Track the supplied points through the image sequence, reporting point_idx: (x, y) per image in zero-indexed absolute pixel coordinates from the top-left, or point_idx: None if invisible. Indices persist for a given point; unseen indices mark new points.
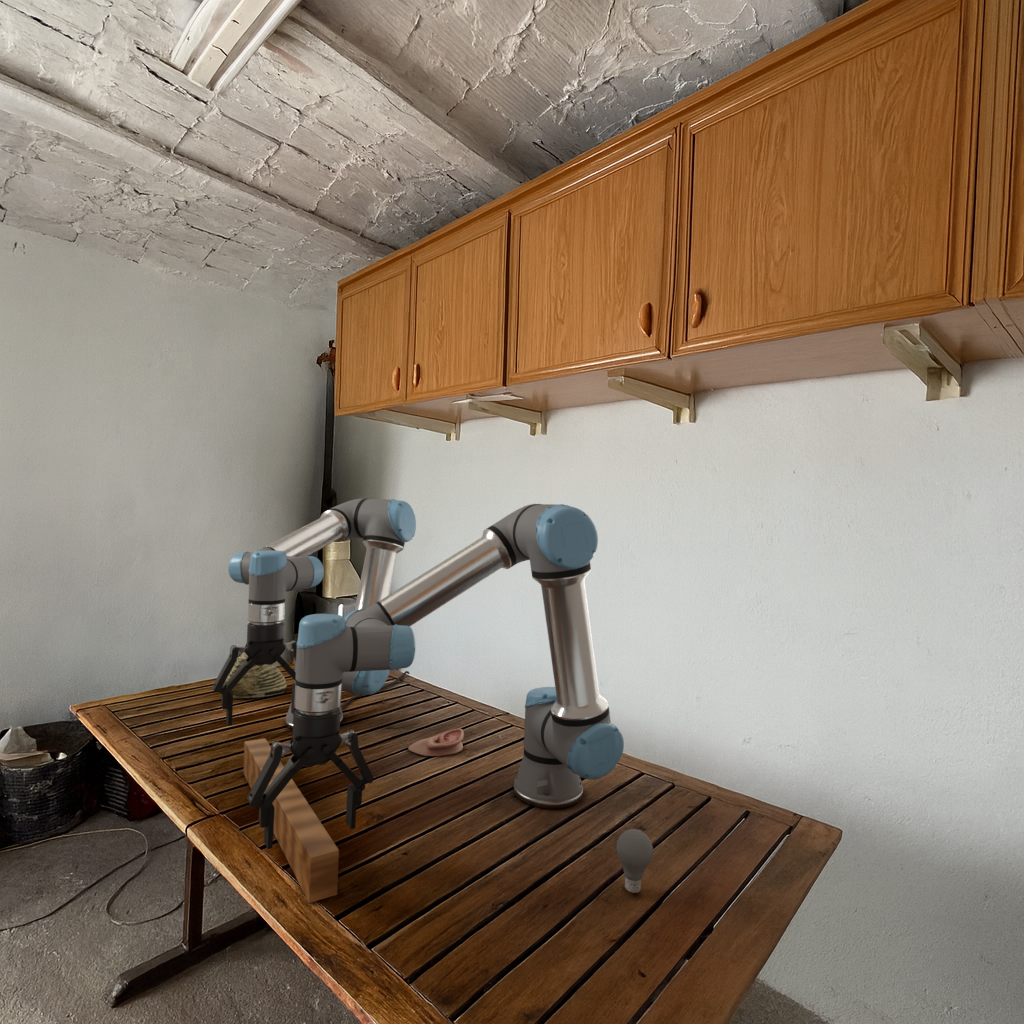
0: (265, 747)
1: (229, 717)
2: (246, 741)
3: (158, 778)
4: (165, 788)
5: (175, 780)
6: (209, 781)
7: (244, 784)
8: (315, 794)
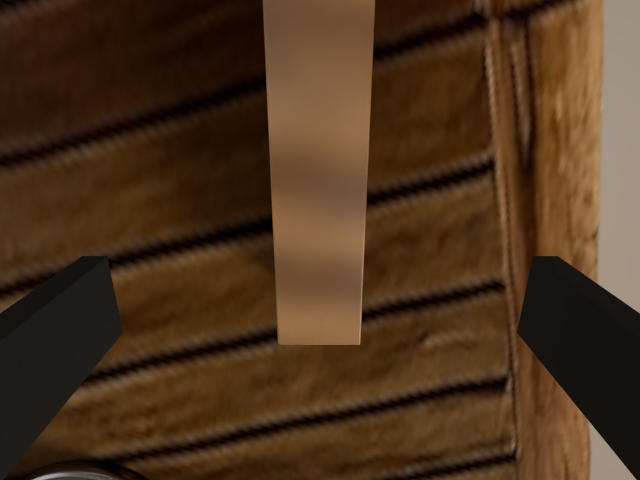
0: (296, 250)
1: (586, 281)
2: (353, 341)
3: None
4: None
5: None
6: (450, 272)
7: None
8: (158, 3)
